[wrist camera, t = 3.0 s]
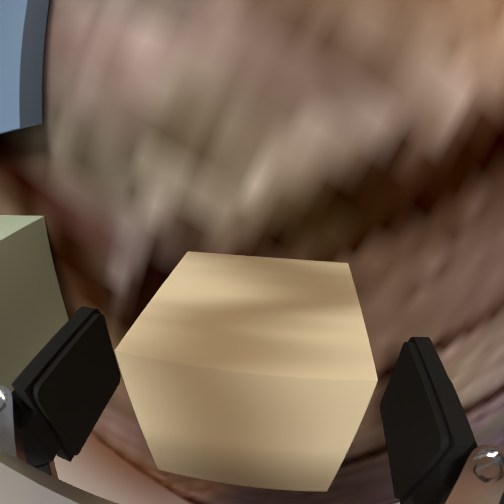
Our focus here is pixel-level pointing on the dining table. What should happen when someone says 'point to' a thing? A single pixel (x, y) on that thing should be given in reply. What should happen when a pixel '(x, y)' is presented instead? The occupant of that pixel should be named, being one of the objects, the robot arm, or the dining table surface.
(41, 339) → the green block
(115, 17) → the dining table surface
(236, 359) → the pine block
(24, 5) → the board
